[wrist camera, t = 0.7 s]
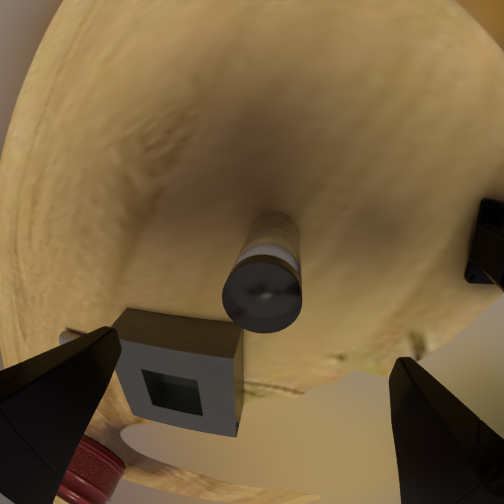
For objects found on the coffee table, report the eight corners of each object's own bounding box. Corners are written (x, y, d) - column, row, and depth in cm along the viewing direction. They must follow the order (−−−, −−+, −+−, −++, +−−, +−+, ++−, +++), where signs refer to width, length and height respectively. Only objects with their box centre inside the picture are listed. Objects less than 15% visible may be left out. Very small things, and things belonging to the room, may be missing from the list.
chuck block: (243, 323, 22) (233, 358, 18) (243, 405, 25) (236, 437, 22) (55, 293, 24) (31, 313, 20) (82, 368, 28) (65, 389, 24)
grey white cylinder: (301, 214, 18) (306, 267, 11) (297, 261, 19) (298, 336, 12) (250, 211, 18) (221, 261, 11) (249, 258, 20) (223, 329, 12)
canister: (109, 470, 42) (80, 530, 26) (60, 433, 39) (22, 492, 23) (138, 468, 37) (105, 542, 21) (78, 425, 35) (33, 500, 19)
